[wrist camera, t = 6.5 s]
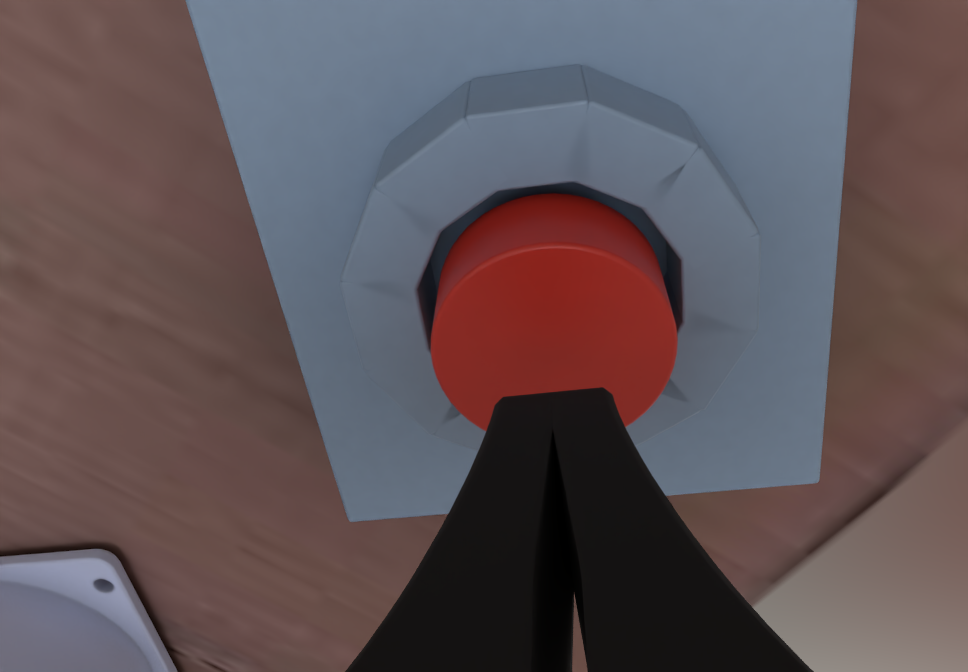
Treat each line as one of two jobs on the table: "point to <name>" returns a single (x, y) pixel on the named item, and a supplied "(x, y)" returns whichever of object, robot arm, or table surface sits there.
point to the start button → (552, 308)
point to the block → (543, 170)
